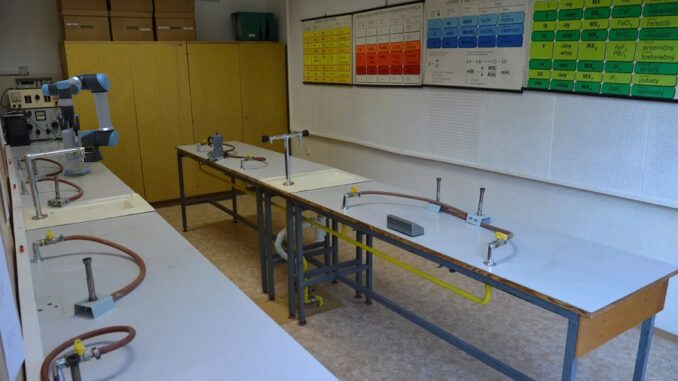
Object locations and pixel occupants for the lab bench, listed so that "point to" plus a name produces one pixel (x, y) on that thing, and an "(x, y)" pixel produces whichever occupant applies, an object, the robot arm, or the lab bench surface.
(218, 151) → the coffeepot
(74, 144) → the network device
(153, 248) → the lab bench surface
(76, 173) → the bracket
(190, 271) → the lab bench surface
